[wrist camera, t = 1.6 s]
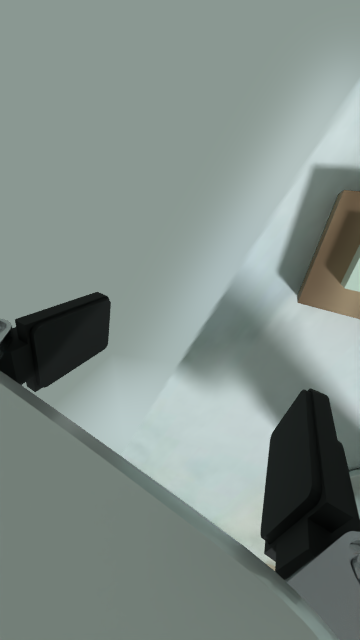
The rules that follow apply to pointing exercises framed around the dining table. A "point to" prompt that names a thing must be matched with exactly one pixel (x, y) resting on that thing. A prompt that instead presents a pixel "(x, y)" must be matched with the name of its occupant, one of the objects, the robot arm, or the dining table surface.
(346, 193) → the board
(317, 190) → the dining table surface
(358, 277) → the tile
